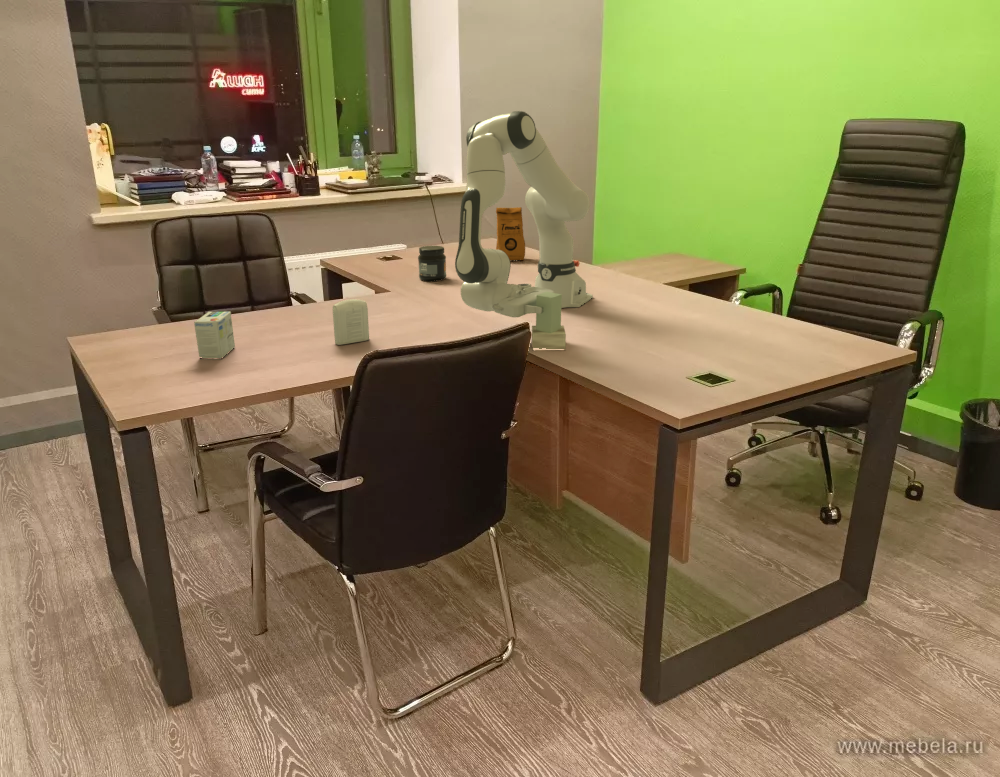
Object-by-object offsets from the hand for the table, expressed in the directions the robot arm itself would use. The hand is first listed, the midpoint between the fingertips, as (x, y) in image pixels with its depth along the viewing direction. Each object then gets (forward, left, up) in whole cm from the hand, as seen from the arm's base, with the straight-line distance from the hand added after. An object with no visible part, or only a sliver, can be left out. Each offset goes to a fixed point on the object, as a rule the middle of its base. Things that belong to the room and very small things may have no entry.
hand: (551, 306), depth 225 cm
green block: (0, -1, -7) cm, 7 cm away
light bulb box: (+57, -73, -12) cm, 93 cm away
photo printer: (+28, -50, -12) cm, 58 cm away
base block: (0, -1, -12) cm, 12 cm away
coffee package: (-94, -80, -12) cm, 124 cm away
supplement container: (-48, -84, -12) cm, 97 cm away
